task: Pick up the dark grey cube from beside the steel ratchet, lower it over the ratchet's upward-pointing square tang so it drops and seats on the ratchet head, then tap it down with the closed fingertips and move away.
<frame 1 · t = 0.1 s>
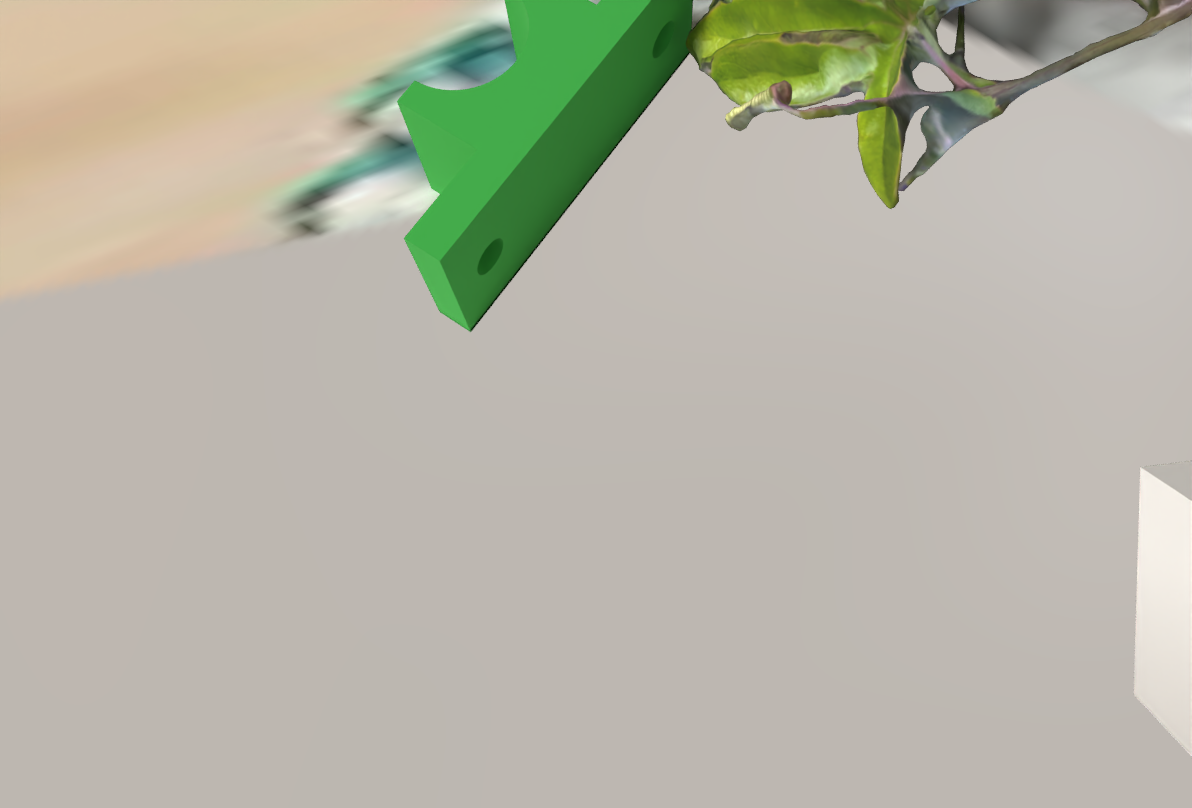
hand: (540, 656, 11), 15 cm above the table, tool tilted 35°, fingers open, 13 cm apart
pipe clamp: (540, 160, 31), on the table
passion flower: (909, 83, 31), on the table
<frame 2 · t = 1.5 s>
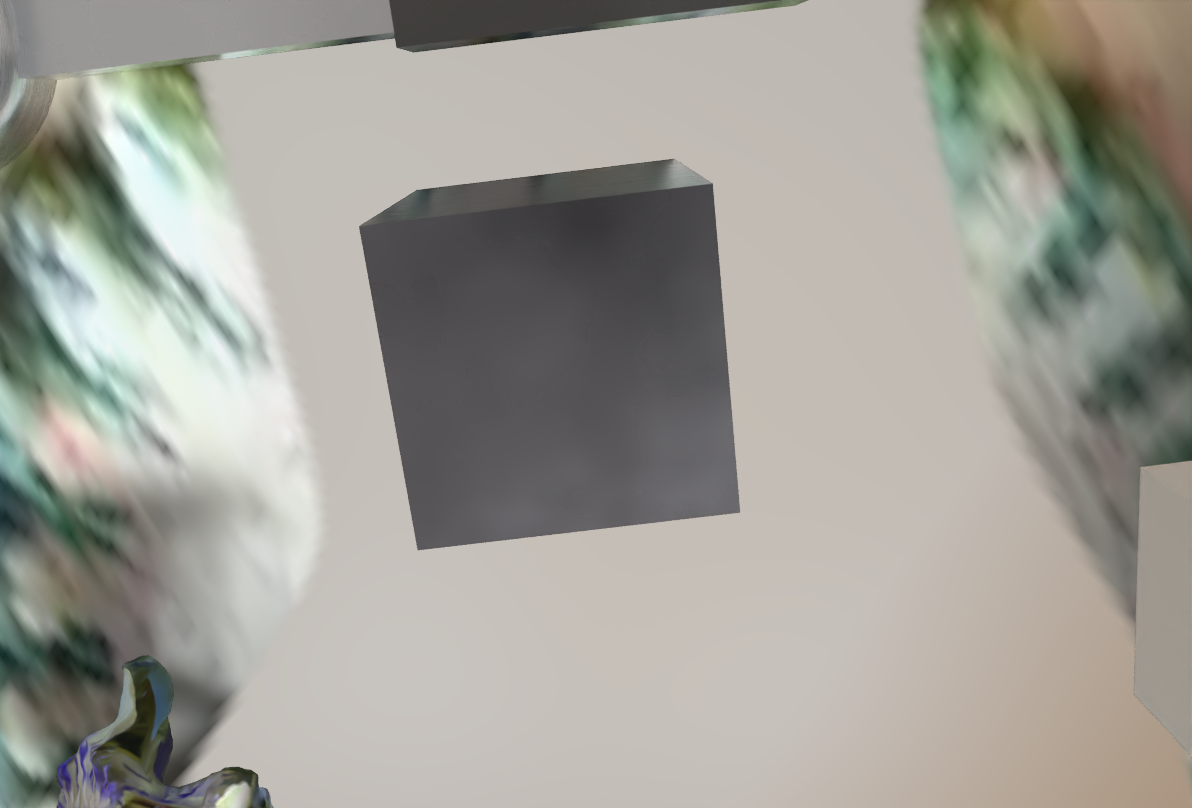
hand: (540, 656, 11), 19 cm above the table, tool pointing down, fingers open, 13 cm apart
dark grey cube: (561, 301, 29), on the table
passion flower: (258, 793, 34), on the table
ratchet: (53, 13, 27), on the table
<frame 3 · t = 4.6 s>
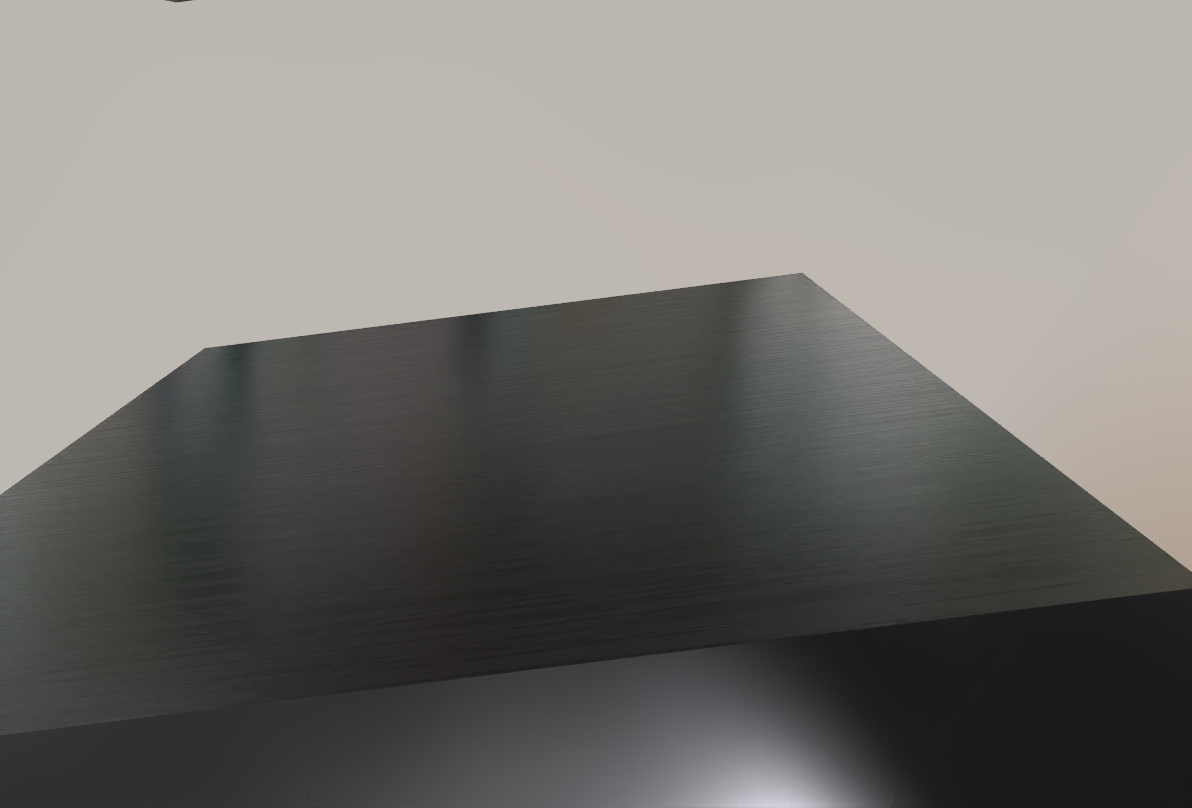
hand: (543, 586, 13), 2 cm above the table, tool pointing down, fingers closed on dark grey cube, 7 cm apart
dark grey cube: (543, 582, 13), point 1 cm above the table, touching gripper
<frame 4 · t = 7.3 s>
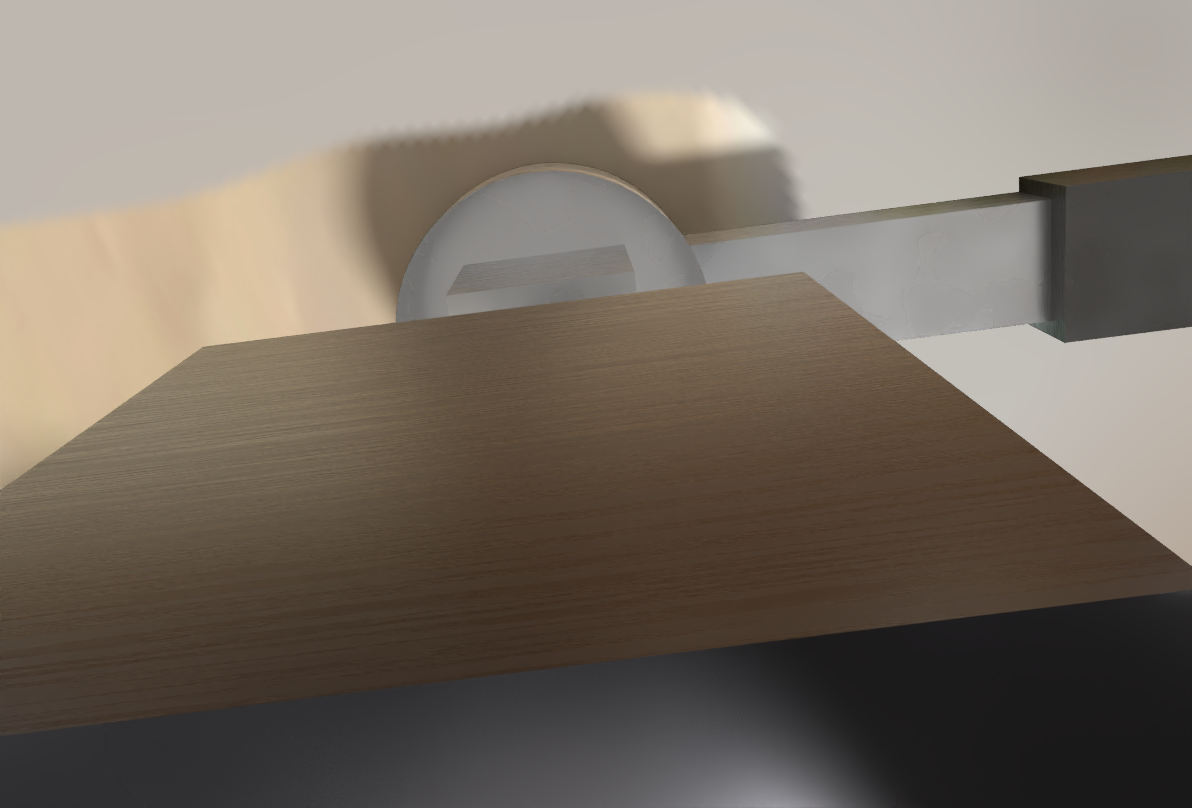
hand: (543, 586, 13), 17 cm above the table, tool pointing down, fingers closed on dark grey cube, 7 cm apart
dark grey cube: (543, 582, 13), point 17 cm above the table, touching gripper
ratchet: (698, 290, 29), on the table
when the fingers open (5 cm above the table, at t = 10.3 s): dark grey cube drops 1 cm, resting on ratchet.
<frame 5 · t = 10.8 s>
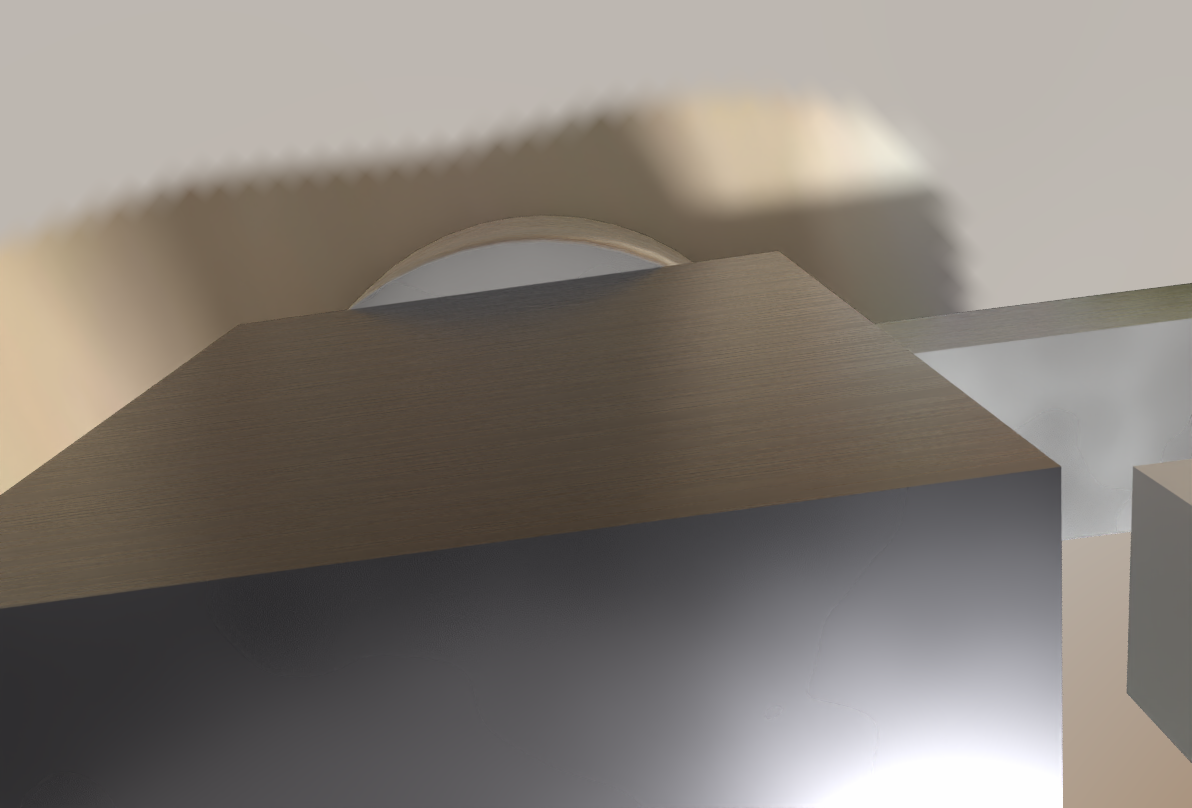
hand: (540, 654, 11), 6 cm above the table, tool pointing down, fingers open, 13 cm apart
dark grey cube: (547, 536, 14), point 3 cm above the table, touching ratchet
ratchet: (789, 428, 17), on the table, touching dark grey cube
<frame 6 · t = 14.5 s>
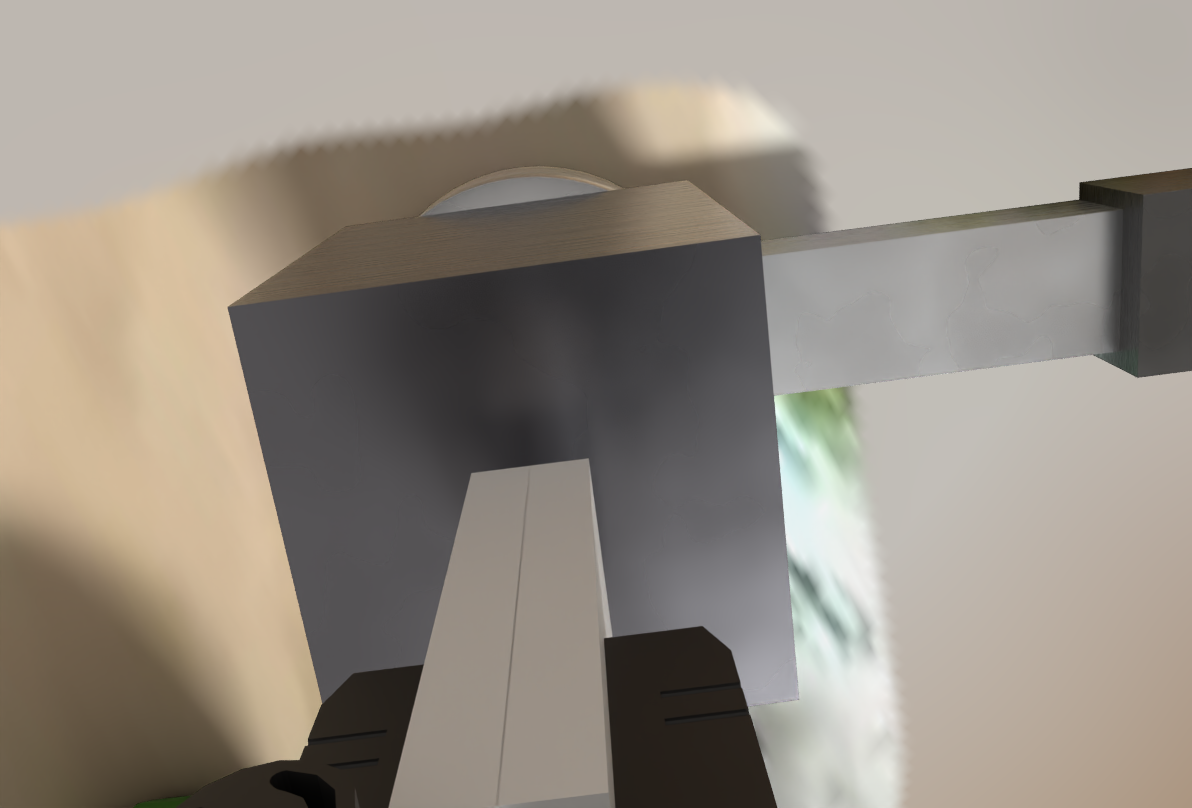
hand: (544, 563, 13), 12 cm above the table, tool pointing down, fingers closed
dark grey cube: (541, 368, 22), point 3 cm above the table, touching ratchet
ratchet: (706, 314, 25), on the table, touching dark grey cube
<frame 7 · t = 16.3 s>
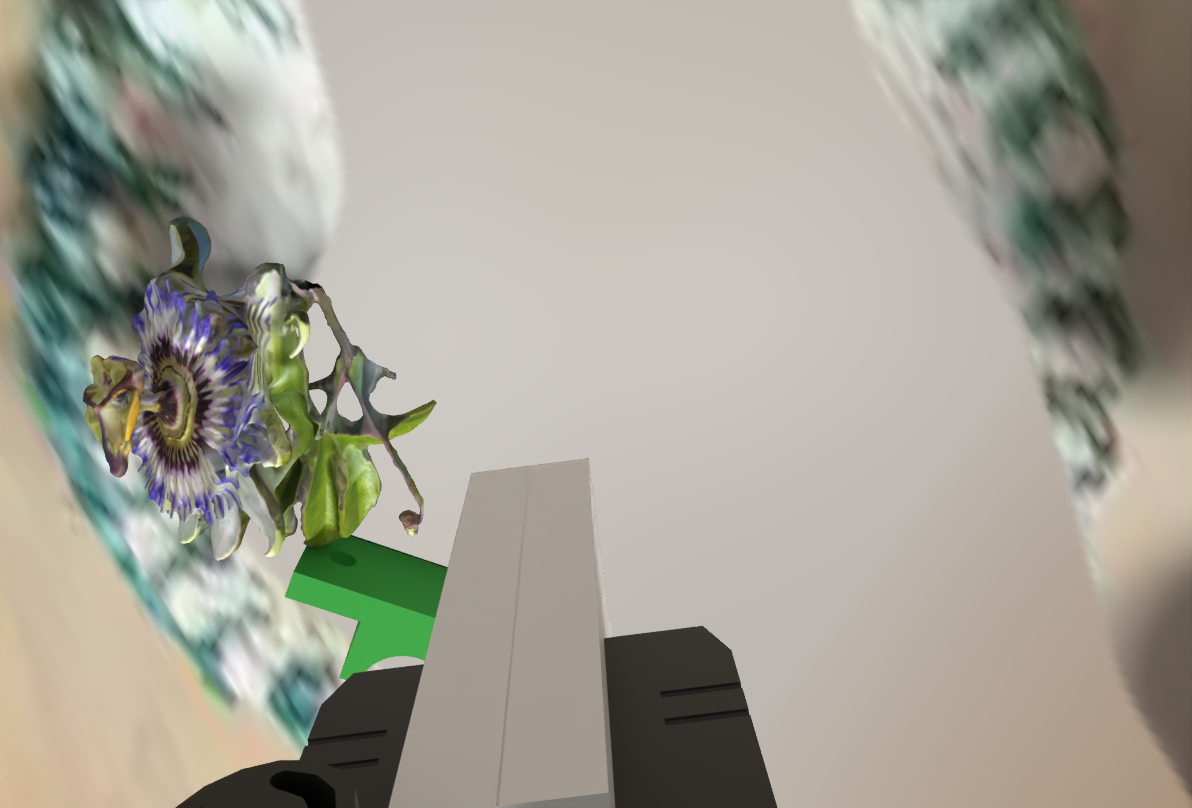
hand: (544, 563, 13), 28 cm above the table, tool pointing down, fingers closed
pipe clamp: (430, 598, 45), on the table
passion flower: (298, 374, 42), on the table
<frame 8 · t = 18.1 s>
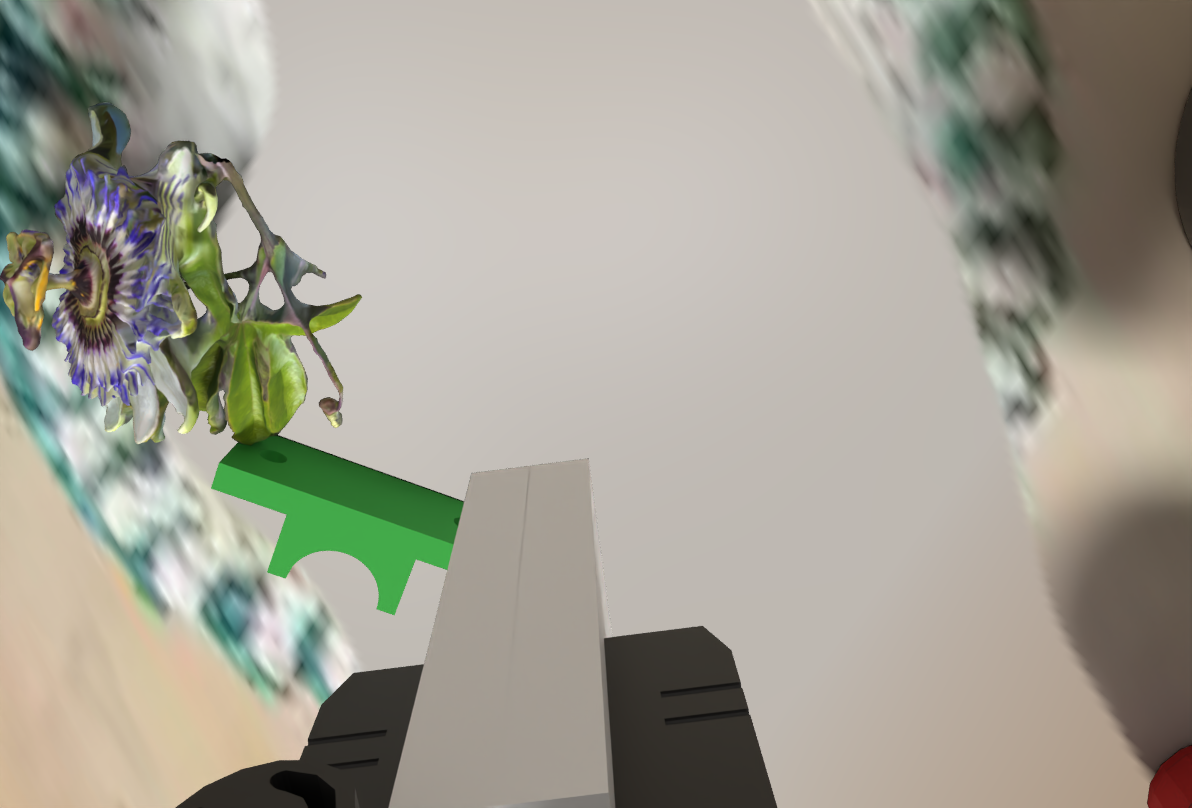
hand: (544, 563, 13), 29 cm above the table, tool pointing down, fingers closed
pipe clamp: (366, 504, 45), on the table
passion flower: (230, 273, 42), on the table
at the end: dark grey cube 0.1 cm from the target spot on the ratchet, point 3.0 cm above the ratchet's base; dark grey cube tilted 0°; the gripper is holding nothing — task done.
